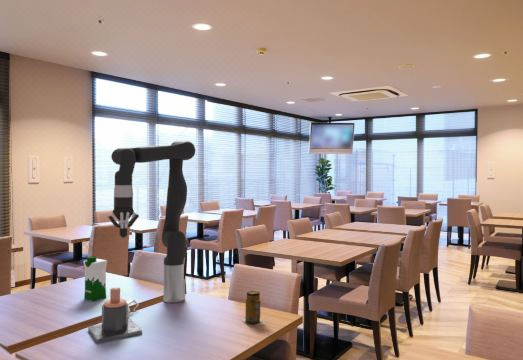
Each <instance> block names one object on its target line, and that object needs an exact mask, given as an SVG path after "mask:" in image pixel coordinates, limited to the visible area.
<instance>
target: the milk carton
mask: <svg viewBox="0 0 523 360" xmlns="http://www.w3.org/2000/svg"><path fill="white" fill-rule="evenodd" d="M82 263H83V267H84V298H83V299H84V300H87V301H90V302H97V301H100V300H103V299H106V298H107V287H106V283H107V278H106V277H107V276H106V275H107V274H106V273H107V272H106V271H107V266H108V265H107V264H108V259H107V260H106V259H100V258H97V256H95V255H91V256H87V257H86V260H83V262H82Z"/></svg>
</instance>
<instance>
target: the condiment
mask: <svg viewBox="0 0 523 360" xmlns="http://www.w3.org/2000/svg"><path fill="white" fill-rule="evenodd" d="M260 296H261V295H260V291H257V290H249V291H247V292H246V298H245V316H244V317H245V318H241V319H240V320H241V321H242V322H244V324H246V325H247V326H249V327H256V326H261V325H266V324H267V323H265V322H264V321H263V320H261V304H262V303H261V298H260Z"/></svg>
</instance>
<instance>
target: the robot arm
mask: <svg viewBox="0 0 523 360" xmlns="http://www.w3.org/2000/svg"><path fill="white" fill-rule="evenodd" d="M195 154H196V147H195V145H194V143H193V142H191V141H188V140H174V141H172V143H171V144H169V145H144V146H143V145H142V146H136V147H119V148H115V149H114V150H113V151H112V152H111V155H110V156H111V158H110V159H111V160H112V162H113V163H114V164H115V165H119V169H118V170H117V171H116V172H115V173H114V188H113V210H112V213H111V214H109V215H108V216H107V218H108V220H109V221H110V223H112V225H113V226H114V227H116V228H118V229H119V236H120V238H122V239H123V238H126V237H127V236H128V228H130V227H132V226H133V225H134V223H135V222H136V221H137V219H138V218H140V217H139V216H140V215H139V214H138V213H136V212H135V211H134V208H133V207H134V201H133V200H134V199H133V198H134V189H133V174H134V171H135V170H134V169H135V165H136V163H137V164H139V163H140V164H143V163H144V164H145V163H152V162H158V161H163V160H165V161H166V160H168V161H169V162H168V163H169V167H168V169H169V170H168V171H169V172H168V182H167V183H168V184H167V193H166V206H165V217H164V222H163V228H162V233H161V243H162V245H163V246H164V247H166V255H165V257H164V258H163V297H162V298H163V302H165V303H169V304H171V303H175V304H176V303H180V302H182V301H185V300H186V279H185V278H184V275H185V274H184V271H185V269H184V264H185V263H184V262H185V258H186V251H187V250H186V249H187V238H186V235H185V234H184V232H183V231H181V230H180V220H181V215H182V213H183V211H184V209H185V206H186V203H187V199H188V197H187V196H188V186H187V182H186V179H185V177H184V173H183V165H184V164H183V163H184V161H189V160H191V159H193V158H194V156H195ZM130 218H131V219H130ZM116 219H117V220H118V222H117V221H116ZM129 219H130V220H129Z"/></svg>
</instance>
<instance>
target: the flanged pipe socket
mask: <svg viewBox="0 0 523 360" xmlns="http://www.w3.org/2000/svg"><path fill="white" fill-rule="evenodd" d="M128 306H129V305H128V303H127V302H126V305H125V306H123V307H119V308H106V307H104V303H103V304H102V305H101V324H96V325H91V326H88V327H87V329H88V332H89V334H90V335H91V337H92V338H93V340H94V341H95V343H96V344H101V343H106V342H112V341H116V340H120V339H125V338H130V337H134V336H139V335H143V329H141V327H139V325H137V323H136V322H134V321H133V320H132V319H131V318H129V317H128Z"/></svg>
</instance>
